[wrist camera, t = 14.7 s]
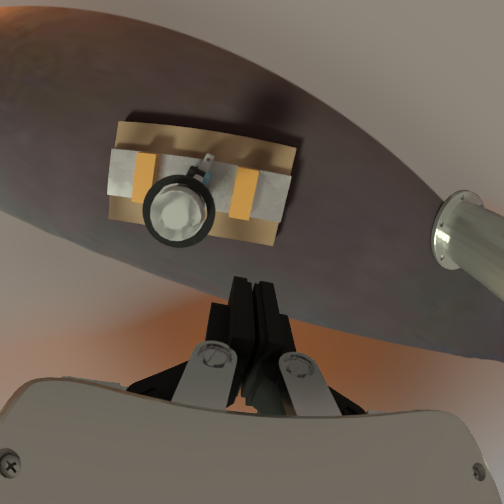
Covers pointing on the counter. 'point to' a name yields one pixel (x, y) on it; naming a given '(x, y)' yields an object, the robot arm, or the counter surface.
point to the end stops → (241, 192)
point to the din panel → (198, 146)
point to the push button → (181, 207)
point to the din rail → (220, 183)
